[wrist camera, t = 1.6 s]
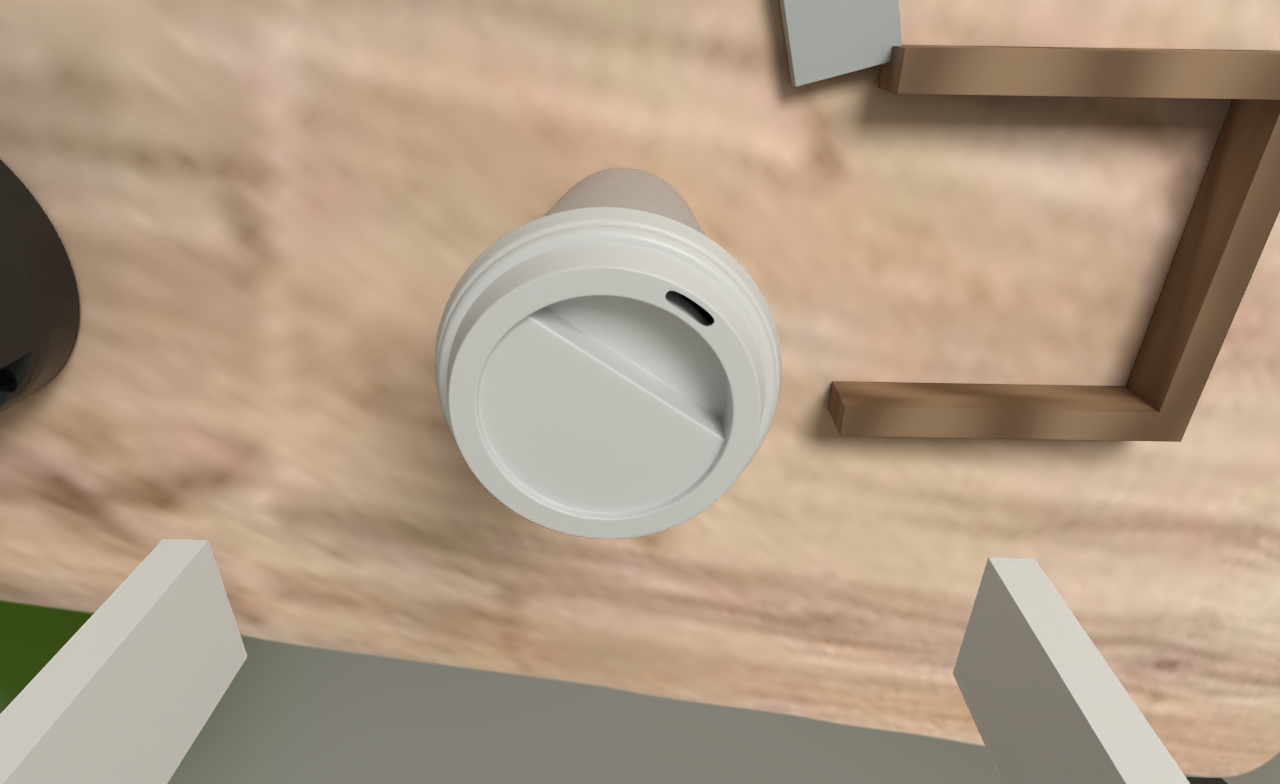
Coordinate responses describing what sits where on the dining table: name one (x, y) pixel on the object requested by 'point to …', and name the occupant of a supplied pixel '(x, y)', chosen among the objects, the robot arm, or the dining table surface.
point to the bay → (1197, 281)
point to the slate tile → (838, 36)
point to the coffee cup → (608, 363)
